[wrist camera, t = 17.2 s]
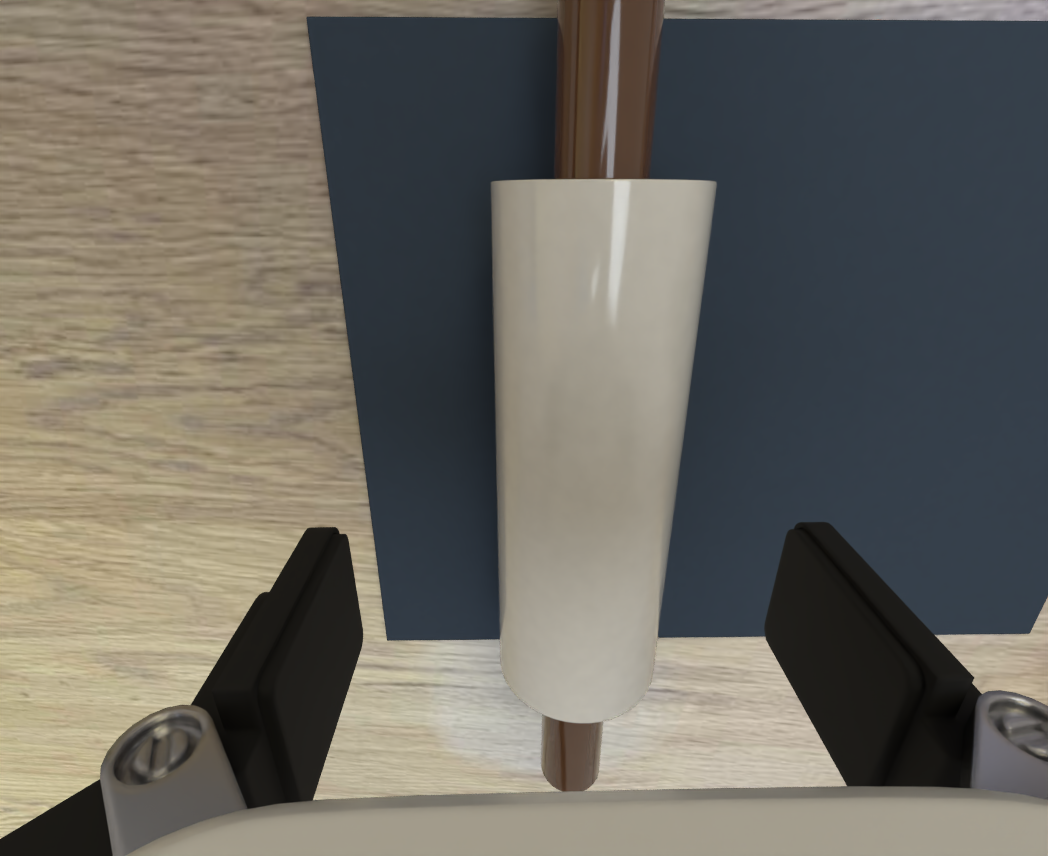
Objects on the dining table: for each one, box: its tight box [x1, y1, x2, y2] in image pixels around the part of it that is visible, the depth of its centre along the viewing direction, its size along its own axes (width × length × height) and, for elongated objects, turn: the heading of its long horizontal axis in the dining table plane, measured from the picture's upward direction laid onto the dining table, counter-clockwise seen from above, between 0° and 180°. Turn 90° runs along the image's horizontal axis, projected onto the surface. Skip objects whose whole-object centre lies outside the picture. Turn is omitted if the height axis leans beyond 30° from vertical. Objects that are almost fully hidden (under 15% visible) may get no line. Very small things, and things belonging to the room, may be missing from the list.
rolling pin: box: [490, 0, 717, 792], centre depth 17 cm, size 28×6×6 cm, turn 0°
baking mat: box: [307, 17, 1048, 640], centre depth 19 cm, size 28×22×1 cm
